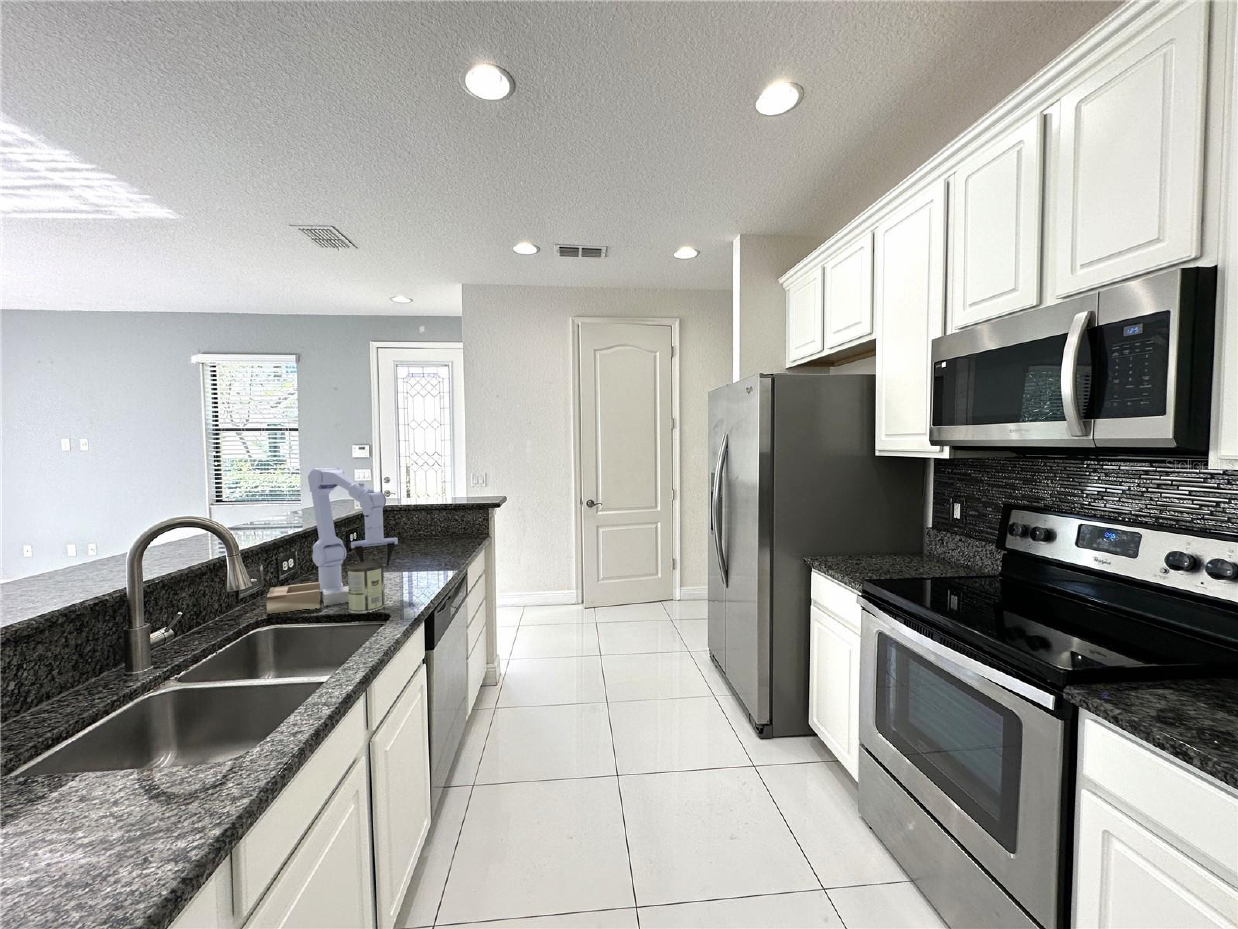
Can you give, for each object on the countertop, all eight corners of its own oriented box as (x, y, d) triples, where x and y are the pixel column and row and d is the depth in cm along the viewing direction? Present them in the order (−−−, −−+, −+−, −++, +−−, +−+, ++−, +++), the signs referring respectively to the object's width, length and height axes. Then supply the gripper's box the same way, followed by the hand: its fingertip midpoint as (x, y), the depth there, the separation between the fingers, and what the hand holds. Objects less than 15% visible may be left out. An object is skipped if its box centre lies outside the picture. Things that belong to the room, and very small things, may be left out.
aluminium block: (322, 601, 175) (322, 589, 175) (355, 596, 181) (355, 584, 180) (324, 607, 168) (324, 594, 168) (358, 601, 174) (358, 589, 174)
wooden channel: (271, 604, 170) (270, 587, 170) (320, 598, 177) (319, 582, 177) (267, 615, 159) (266, 597, 159) (319, 608, 166) (319, 590, 166)
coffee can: (360, 603, 170) (359, 561, 170) (390, 604, 169) (389, 561, 169) (340, 613, 160) (339, 568, 160) (372, 614, 159) (371, 568, 159)
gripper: (350, 530, 172) (352, 571, 172) (398, 526, 179) (399, 565, 179) (350, 528, 178) (351, 567, 179) (395, 524, 185) (397, 562, 186)
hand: (375, 566), depth 179 cm, fingers open, 7 cm apart
